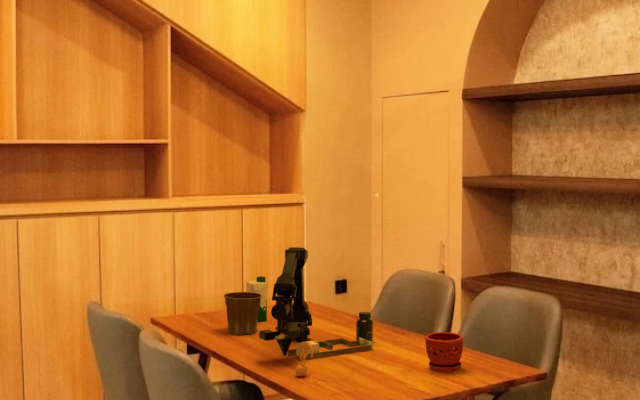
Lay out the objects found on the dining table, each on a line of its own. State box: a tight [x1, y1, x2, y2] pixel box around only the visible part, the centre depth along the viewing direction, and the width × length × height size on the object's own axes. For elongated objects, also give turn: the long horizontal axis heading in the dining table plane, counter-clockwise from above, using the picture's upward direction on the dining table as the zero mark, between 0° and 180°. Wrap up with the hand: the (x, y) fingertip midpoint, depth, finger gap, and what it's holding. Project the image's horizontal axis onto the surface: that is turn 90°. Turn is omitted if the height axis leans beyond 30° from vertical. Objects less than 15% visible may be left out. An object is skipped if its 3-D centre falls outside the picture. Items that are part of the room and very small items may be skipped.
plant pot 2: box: [425, 331, 464, 373], centre depth 276 cm, size 13×13×12 cm
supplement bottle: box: [355, 311, 374, 342], centre depth 315 cm, size 7×7×12 cm
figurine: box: [295, 341, 313, 378], centre depth 267 cm, size 8×6×12 cm
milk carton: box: [245, 275, 268, 323], centre depth 355 cm, size 9×9×20 cm
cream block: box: [295, 340, 320, 358], centre depth 293 cm, size 5×7×5 cm
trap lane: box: [287, 338, 374, 362], centre depth 301 cm, size 15×33×3 cm, turn 120°
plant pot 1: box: [223, 291, 262, 336], centre depth 332 cm, size 16×16×16 cm
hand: (284, 355), depth 289 cm, fingers closed
